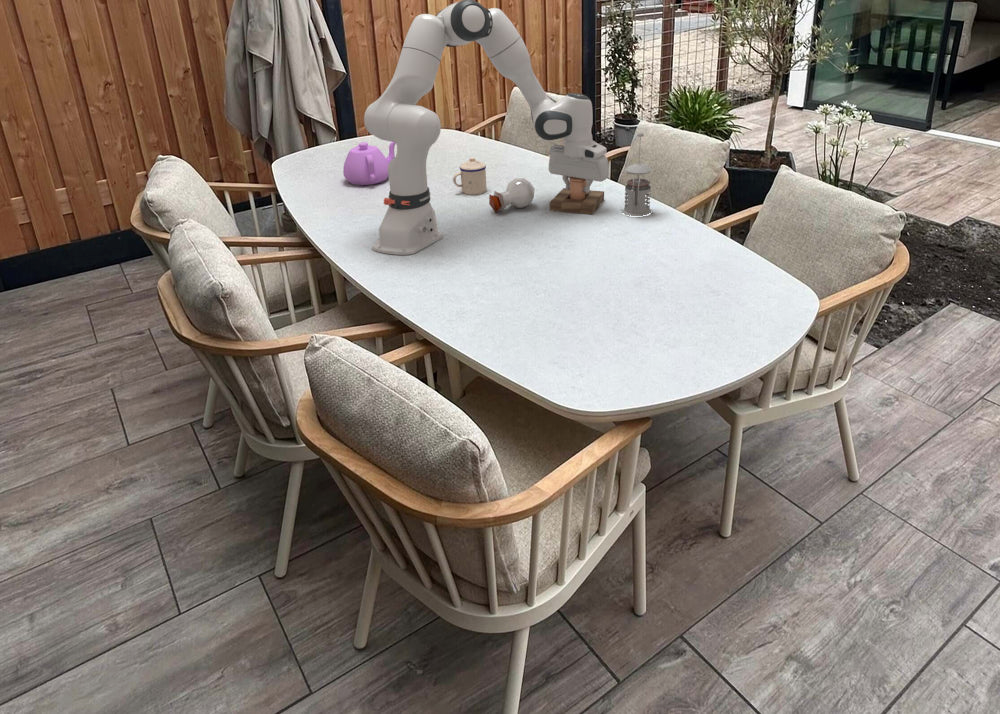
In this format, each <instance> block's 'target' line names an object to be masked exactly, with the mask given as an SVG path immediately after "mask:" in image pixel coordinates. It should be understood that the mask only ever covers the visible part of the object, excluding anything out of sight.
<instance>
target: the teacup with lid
mask: <svg viewBox="0 0 1000 714" xmlns="http://www.w3.org/2000/svg"><path fill="white" fill-rule="evenodd" d="M486 168H487V164H486V163H484V162H483V161H479V160H476V157H474V156H473V157H469V159H468V160H467V161H466V162H463V163H461V164H460V165H459V172H457V173H455V174H454V175H453V177H452V182H453V184H454V186H456V187H457V188H461V192H462V193H463V194H465V195H470V196H472V195H474V196H475V195H481V194H484V193H486V192H487V172H486V170H487V169H486ZM458 176H460V182H461V184H458V183H457V181H456V180H457V179H456V178H457V177H458Z"/></svg>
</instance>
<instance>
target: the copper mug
mask: <svg viewBox="0 0 1000 714" xmlns="http://www.w3.org/2000/svg"><path fill="white" fill-rule="evenodd" d="M569 181H570V199H573V200H585V192H583V187H585V186H586V185H587V183H586V179H581V178H575V177H569Z"/></svg>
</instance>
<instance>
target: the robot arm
mask: <svg viewBox="0 0 1000 714" xmlns="http://www.w3.org/2000/svg"><path fill="white" fill-rule="evenodd" d="M472 42H476V43H477V44H479V45H480V46H481V47H482V48H483V50H484V52H485V54H486V56H487V58H488V59H489V61H490V62H491V64H492V65H493V67H494V68H495V69H496V70H497V72H498V73H500V74H501V76H502V77H504V78H506V79H508V80H510V81H512V82H513V83H514V84H515V85H516V87H517V88H518V90H519V91H520V92H521V95H522V96H523V98H524V100H525V101H526V103H527V104H528V106H529V109H530V118H531V121H532V123H533V125H534V130H535V133H536V134H537V135H538V137H540V139H543V140H545V141H555V140H559V139H563V145H562V144H553V145H551V146H550V148H549V161H548V172H549V173H550V174H551V175H557V176H562V180H563V183H564V184H565V188H566V189H568V190H570V180H569V177H575V178H581V179H586V183H587V185H586V186H585V187H583V192H585V193H588V192H589V191H590V190H591V188H590V187H591V185H592V184H593V182H598V183H599V182H604V181H605V180H607V178H609V161H608V158H607V156H606V154H607V152H608V151H607V147H605V146H604V145H602V144H599V143H597V142H596V141H595V140H593V134H592V128H593V123H594V122H593V119H594V118H593V117H594V116H593V103H592V101H591V99H590V98H589V97H588V96H587V95H585V94H582V93H577V92H570V93H567V94H566V95H565V96H564V97H562V99H560V100H558V101H556V100H555V99H553V98H552V97H550V96H549V95H548V94H547V93H546V91H545V90H544V88H543V86H542V84H541V83H540V81H539V80H538V78H537V76H536V75H535V72H534V71H533V67H532V62H531V56H530V53H529V50H528V48H527V45H526V44H525V41H524V40H523V38H522V36H521V34H520V33H519V31H518V30H517V28H516V26H515V25H514V24H513V22H512V21H511V19H509V17H508V16H507V15H506V14H505V13H504V11H503V10H502V9H500V8H497V7H492V8H486V7H484V6H483V5H482V3H480V2H478V1H476V0H460V1H458V2H454V3H451V4H449V5H448V6H446V7H444V8H442V9H441V10H440V11H438V12H437V13H436V15H434V14H431V13H430V14H429V13H421V14H419V15H416V16H415V17H414V18H413V20H412V23H411V24H410V27H409V29H408V31H407V33H406V35H405V39H404V42H403V45H402V49H401V52H400V55H399V59H398V61H397V65H396V67H395V70H394V74H393V76H392V78H391V79H390V82H389V84H388V85H387V87H386V89H385V90H384V92H383V93H382V94H381V95H380V96H379V98H378V99H377V100H375V101H373V102H372V103H371V104H369V105H368V106H367V108H366V110H365V112H364V117H363V122H364V127H365V129H366V130H367V132H368V133H369V134H370V135H372V136H373V137H376V138H378V139H379V140H382V141H387V142H390V143H391V142H396V144H395V145H396V154H395V158H394V159H392V160H391V161H390V163H389V165H388V175H389V176H388V182H389V189H390V190H389V193H388V194H389V195H388V197H384V198H383V204H384V206H388V209H387V211H386V213H385V215H384V217H383V219H382V221H381V223H380V226H379V229H378V233H379V234H378V236H379V237H378V239H377V240H376V241H375V242H374V244H373V245H372V246H371V247H372V250H373V251H375V252H378V253H382V254H388V255H398V256H399V255H401V256H403V255H405V256H406V255H407V256H408V255H414V254H416V253H418V252H420V251H421V250H423V249H425V248H427V247H428V246H430V245H432V244H433V243H436V242H437V241H439V240H441V239H442V238H443V234H442V232H440V231H439V227H438V221H437V215H436V211H435V209H434V207H433V206H432V204H431V203H430V202H431V192H430V187H429V186H428V175H427V174H428V173H427V159H428V155H429V151H430V148H432V146H433V145H434V144H435V143H436V142H438V139H439V137H440V135H441V130H442V129H441V128H442V125H441V119H440V117H439V116H438V114H437V113H436V112H435V111H432V110H431V109H429V108H426V107H425V106H422V105H417V104H418V102H419V100H421V99H422V97H423V96H425V95H428V93H430V92H431V90H432V89H433V88H434V85H435V82H436V78H437V74H438V70H439V67H440V64H441V59H442V57H443V51H444V50H445V48H446V47H447V48H448V47H449V48H454V47H455V48H456V47H458V46H466V45H468V44H470V43H472Z"/></svg>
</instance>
